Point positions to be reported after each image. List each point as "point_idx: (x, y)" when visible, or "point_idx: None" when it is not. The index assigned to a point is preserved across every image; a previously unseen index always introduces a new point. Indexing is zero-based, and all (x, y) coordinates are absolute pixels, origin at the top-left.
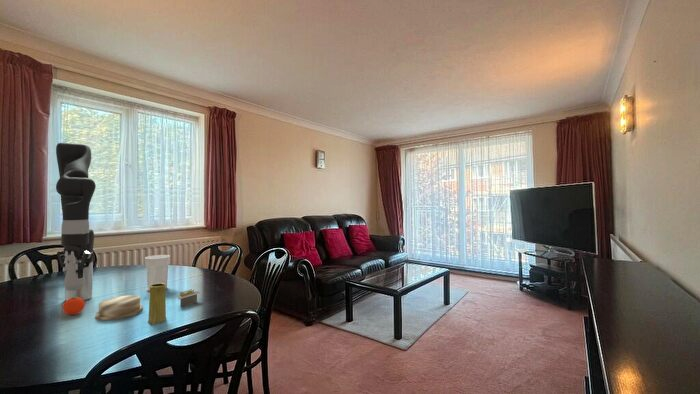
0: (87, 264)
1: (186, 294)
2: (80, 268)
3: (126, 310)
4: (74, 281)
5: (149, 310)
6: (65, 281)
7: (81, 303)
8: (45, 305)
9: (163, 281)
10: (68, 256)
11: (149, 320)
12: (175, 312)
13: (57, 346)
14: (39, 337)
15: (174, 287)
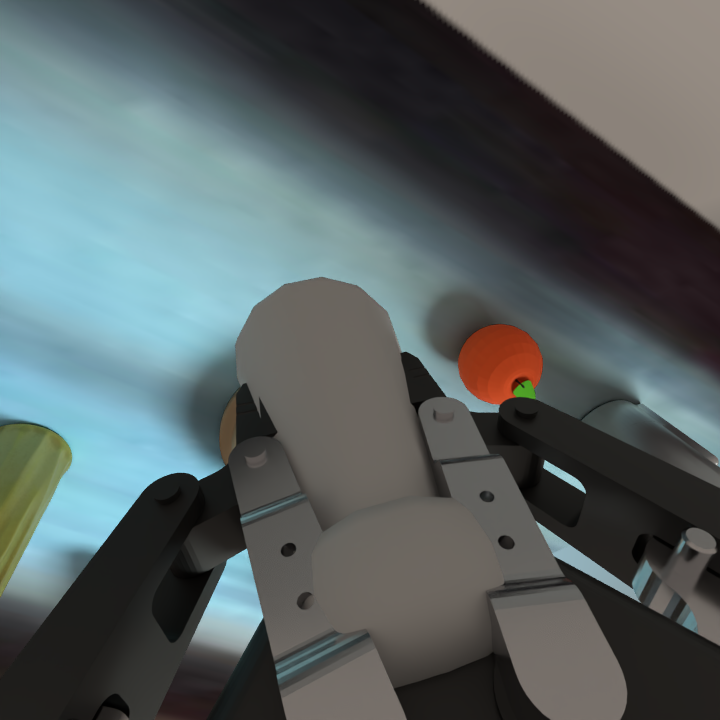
0: (166, 580)
1: None
2: (172, 475)
3: (234, 439)
4: (248, 340)
5: (8, 472)
6: (329, 297)
7: (470, 382)
8: (666, 350)
9: None
10: (435, 582)
11: (17, 433)
12: (72, 528)
13: (112, 66)
14: (348, 122)
15: None
